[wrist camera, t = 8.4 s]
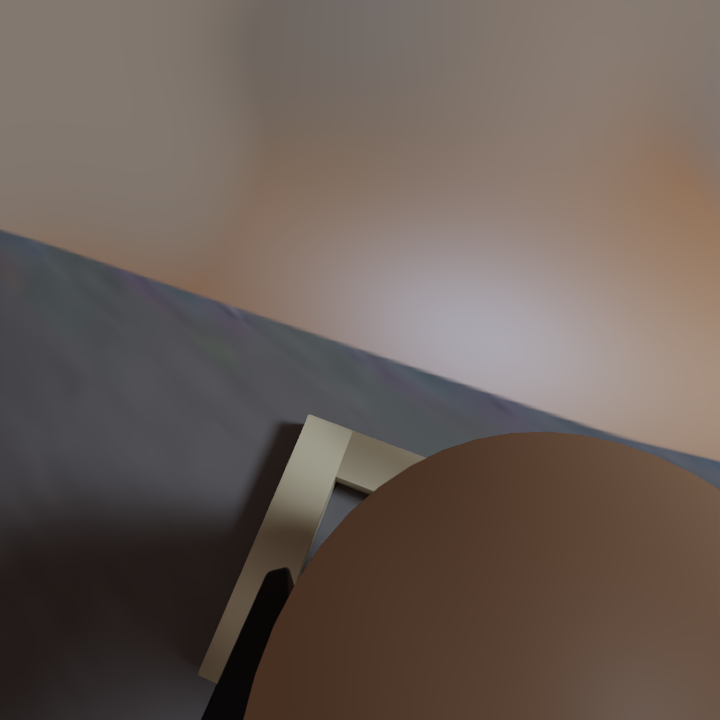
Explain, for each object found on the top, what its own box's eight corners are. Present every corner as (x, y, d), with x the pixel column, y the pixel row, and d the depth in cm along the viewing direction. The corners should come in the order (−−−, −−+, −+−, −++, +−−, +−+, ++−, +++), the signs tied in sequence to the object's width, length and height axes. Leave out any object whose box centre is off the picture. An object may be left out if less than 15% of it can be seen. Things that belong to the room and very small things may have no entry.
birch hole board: (459, 771, 17) (474, 798, 16) (211, 661, 19) (197, 675, 17) (517, 501, 22) (533, 498, 20) (311, 424, 23) (308, 414, 21)
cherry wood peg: (390, 716, 13) (795, 2073, 1) (290, 590, 14) (72, 792, 3) (488, 594, 14) (1095, 795, 3) (389, 489, 15) (532, 329, 4)
